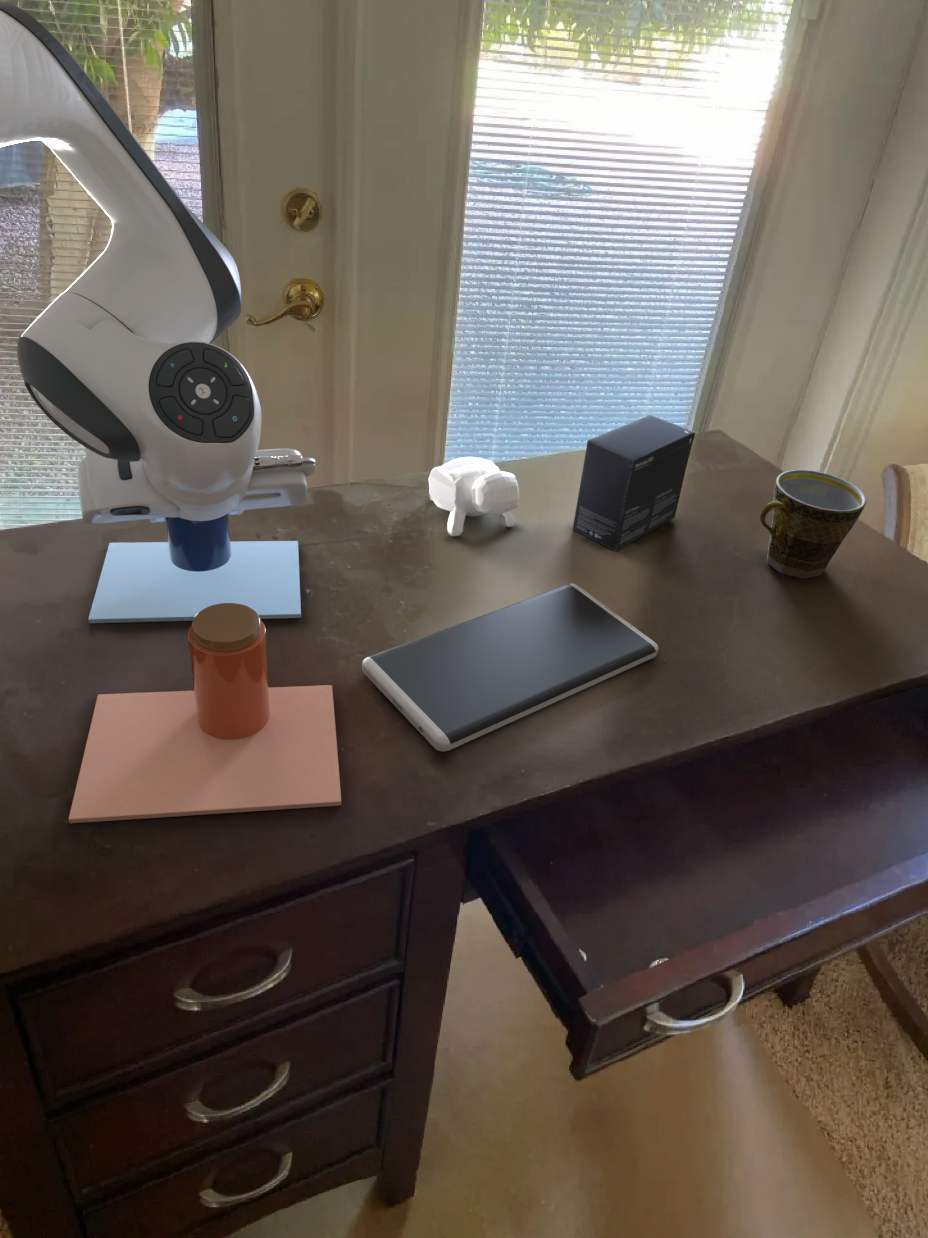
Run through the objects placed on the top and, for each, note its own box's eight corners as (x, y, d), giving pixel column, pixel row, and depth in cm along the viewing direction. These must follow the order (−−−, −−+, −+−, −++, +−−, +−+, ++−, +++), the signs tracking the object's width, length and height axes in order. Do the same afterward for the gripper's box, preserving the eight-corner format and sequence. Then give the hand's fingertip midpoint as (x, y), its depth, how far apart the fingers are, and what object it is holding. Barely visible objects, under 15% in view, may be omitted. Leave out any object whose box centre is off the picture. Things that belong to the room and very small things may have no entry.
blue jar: (167, 572, 88) (155, 481, 82) (173, 540, 92) (162, 453, 86) (230, 571, 89) (223, 481, 83) (232, 540, 93) (225, 453, 88)
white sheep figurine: (422, 526, 111) (475, 544, 98) (416, 458, 109) (470, 467, 96) (482, 517, 115) (542, 533, 102) (478, 450, 112) (538, 458, 99)
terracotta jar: (195, 742, 73) (183, 646, 67) (199, 693, 78) (189, 600, 72) (269, 738, 74) (264, 643, 68) (269, 690, 79) (265, 598, 73)
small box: (631, 498, 116) (651, 412, 109) (675, 519, 113) (698, 431, 106) (569, 529, 108) (586, 438, 101) (614, 552, 105) (635, 460, 98)
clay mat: (69, 824, 66) (68, 819, 65) (98, 698, 77) (97, 694, 76) (341, 805, 69) (341, 801, 69) (332, 688, 81) (332, 684, 80)
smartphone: (357, 671, 83) (358, 657, 82) (570, 592, 97) (573, 579, 96) (439, 759, 75) (441, 744, 74) (659, 658, 89) (663, 645, 88)
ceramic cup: (796, 536, 112) (822, 464, 106) (854, 578, 105) (886, 504, 99) (715, 552, 107) (737, 478, 101) (771, 598, 100) (798, 520, 94)
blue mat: (88, 623, 85) (87, 619, 85) (110, 546, 96) (109, 542, 96) (301, 618, 89) (301, 614, 88) (298, 544, 100) (298, 540, 99)
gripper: (314, 422, 79) (295, 472, 92) (65, 438, 72) (82, 489, 85) (325, 491, 78) (304, 531, 91) (74, 513, 72) (91, 552, 85)
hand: (195, 510), depth 88 cm, fingers closed on blue jar, 6 cm apart
